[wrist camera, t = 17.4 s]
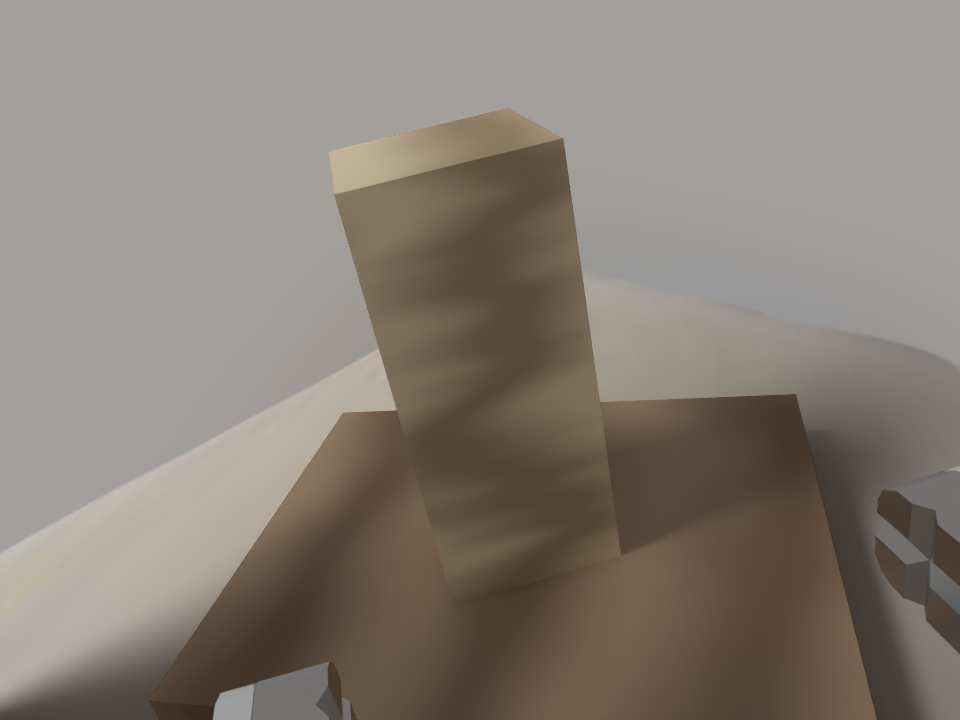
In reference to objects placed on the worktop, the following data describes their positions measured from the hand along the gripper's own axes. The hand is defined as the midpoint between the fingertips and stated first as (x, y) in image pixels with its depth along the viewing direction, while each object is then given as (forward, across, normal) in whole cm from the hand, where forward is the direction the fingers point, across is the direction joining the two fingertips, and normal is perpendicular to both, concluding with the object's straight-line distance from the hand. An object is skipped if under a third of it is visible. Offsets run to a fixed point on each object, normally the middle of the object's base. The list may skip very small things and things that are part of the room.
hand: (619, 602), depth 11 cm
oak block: (+11, 0, +7) cm, 13 cm away
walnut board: (+11, 0, +9) cm, 14 cm away
